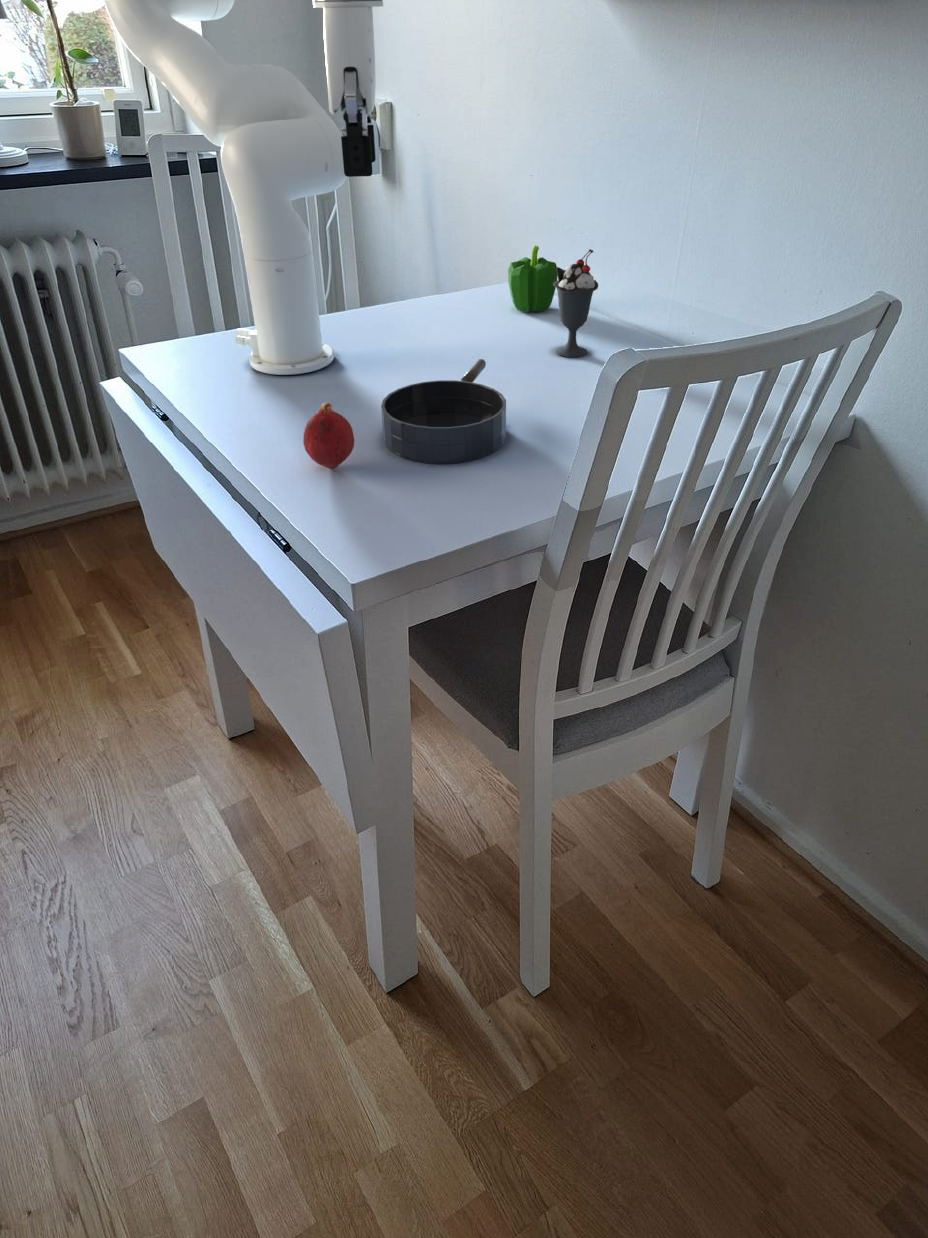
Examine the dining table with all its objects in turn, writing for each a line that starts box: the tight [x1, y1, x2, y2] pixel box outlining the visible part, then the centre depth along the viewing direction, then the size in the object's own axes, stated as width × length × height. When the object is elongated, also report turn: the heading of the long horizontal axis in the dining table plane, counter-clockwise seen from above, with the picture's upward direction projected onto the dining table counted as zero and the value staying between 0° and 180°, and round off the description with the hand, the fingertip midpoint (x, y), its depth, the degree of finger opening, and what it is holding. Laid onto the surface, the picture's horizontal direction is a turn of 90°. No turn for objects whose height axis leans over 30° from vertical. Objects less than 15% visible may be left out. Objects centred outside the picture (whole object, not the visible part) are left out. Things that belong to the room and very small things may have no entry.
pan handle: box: [459, 358, 487, 383], centre depth 115 cm, size 9×1×1 cm, turn 163°
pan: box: [380, 379, 507, 465], centre depth 107 cm, size 15×15×4 cm
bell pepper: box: [507, 245, 558, 313], centre depth 148 cm, size 8×8×10 cm
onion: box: [302, 401, 355, 470], centre depth 99 cm, size 6×6×8 cm
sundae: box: [553, 248, 599, 358], centre depth 129 cm, size 7×7×15 cm
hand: (360, 168), depth 103 cm, fingers open, 9 cm apart
